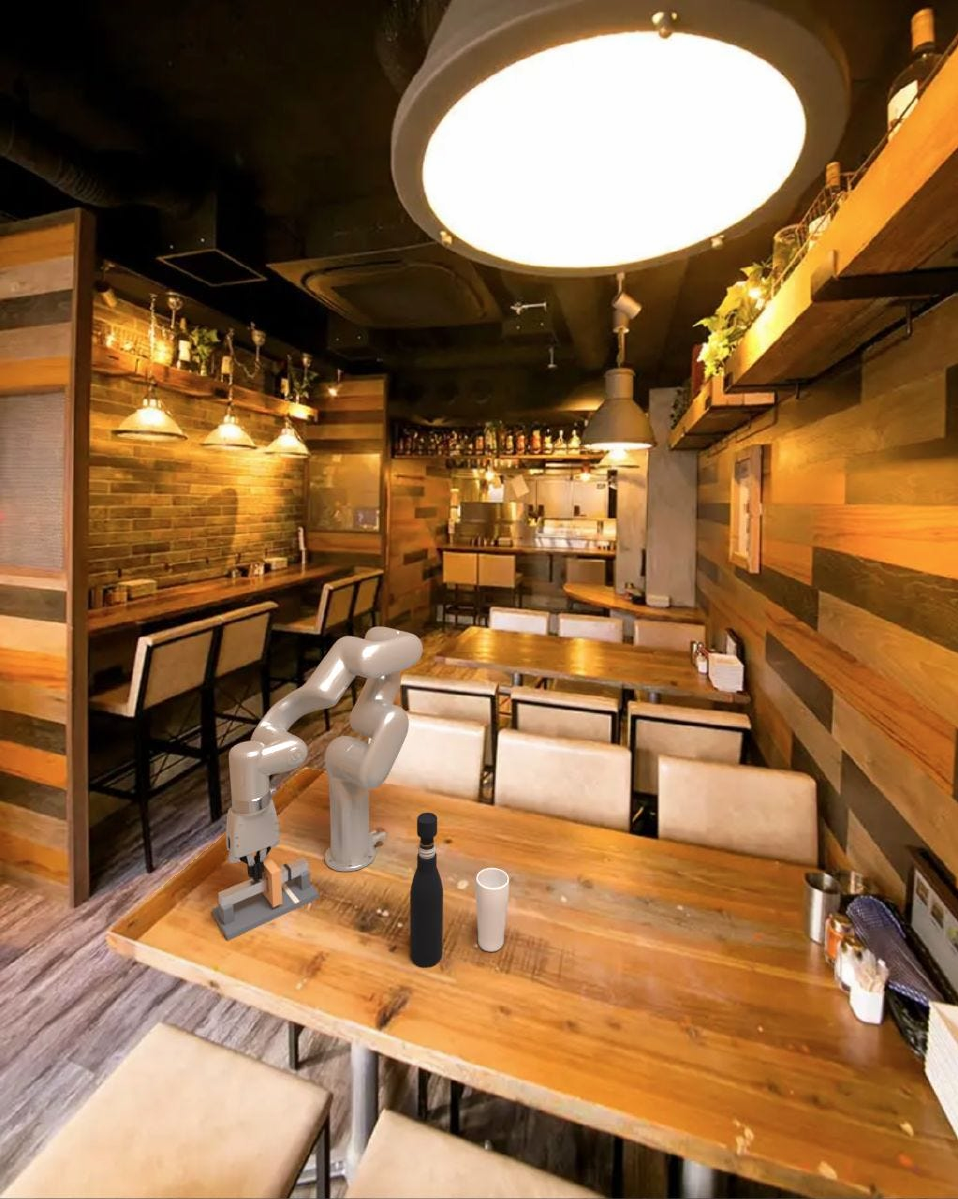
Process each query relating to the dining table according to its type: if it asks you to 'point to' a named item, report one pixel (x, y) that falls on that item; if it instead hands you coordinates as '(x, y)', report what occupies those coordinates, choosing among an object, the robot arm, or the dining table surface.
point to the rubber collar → (273, 882)
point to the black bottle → (426, 898)
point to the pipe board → (263, 907)
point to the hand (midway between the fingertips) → (256, 877)
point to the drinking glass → (491, 907)
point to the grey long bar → (261, 883)
